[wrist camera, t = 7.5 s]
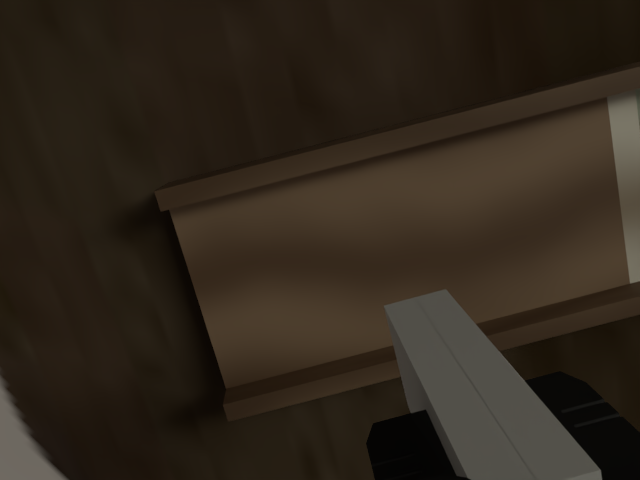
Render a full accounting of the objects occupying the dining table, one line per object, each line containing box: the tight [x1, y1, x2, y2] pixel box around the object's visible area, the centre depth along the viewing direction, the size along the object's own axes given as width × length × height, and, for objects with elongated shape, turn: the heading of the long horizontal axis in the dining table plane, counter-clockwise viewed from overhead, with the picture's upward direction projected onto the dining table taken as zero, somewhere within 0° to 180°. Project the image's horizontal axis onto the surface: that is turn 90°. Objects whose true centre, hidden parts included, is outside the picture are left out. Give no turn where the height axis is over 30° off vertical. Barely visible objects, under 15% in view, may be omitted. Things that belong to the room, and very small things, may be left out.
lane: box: [154, 62, 640, 422], centre depth 23 cm, size 10×36×5 cm, turn 104°
